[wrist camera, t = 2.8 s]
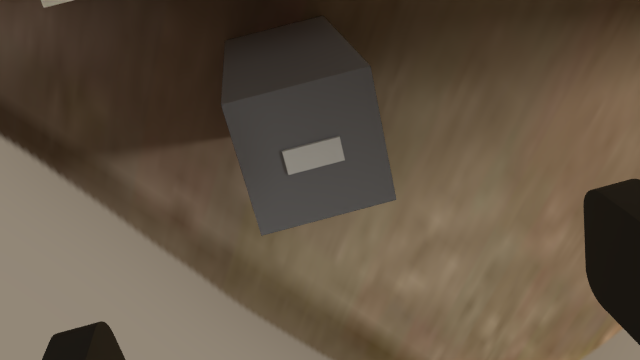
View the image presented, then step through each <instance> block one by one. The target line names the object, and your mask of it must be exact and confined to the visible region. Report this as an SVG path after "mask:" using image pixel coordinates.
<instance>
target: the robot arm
mask: <svg viewBox="0 0 640 360" xmlns="http://www.w3.org/2000/svg"><path fill="white" fill-rule="evenodd" d="M584 230H585V259H586V273H587V278H588V281H589V284H590V287H591V289H592V292H593V294H594V296H595V297H596V299H597V300H598V302H599V303H600V304H601V306H602V307H603V308H604V309H605V310H606V311H607V312H608V313H609V314H610V315H611V316H612V317H613V318H614V319H615V320H616V321H617V322H618V323H619V324H620V325H621V326H622V327H623V328H624V329H625V330H626V331H627V332H628V333H629V334H630V336H631V337H632V338H633V339H634V340H635V341H636V342H638V344H639V345H640V180H639V179H630V180H626V181H623V182H619V183H615V184H612V185H608V186H604V187H600V188H597V189H593V190H590V191H588V192H587V194H586V195H585V198H584ZM42 360H125V358H124V356H123V353H122V351H121V349H120V347H119V345H118V343H117V341H116V338H115V336H114V334H113V332H112V330H111V329H110V327H109V326H108V325H107V324H106V323H105V322H97V323H94V324H90V325H87V326H83V327H79V328H75V329H72V330H68V331H64V332H61V333H57V334H55V335H53V337H52V338H51V340H50V342H49V344H48V347H47V349H46V351H45V354H44V356H43V359H42Z"/></svg>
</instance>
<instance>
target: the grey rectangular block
mask: <svg viewBox="0 0 640 360" xmlns="http://www.w3.org/2000/svg"><path fill="white" fill-rule="evenodd" d="M221 106H222V110H223V113H224V116H225V119H226V123H227V126H228V129H229V132H230V135H231V139H232V142H233V145H234V148H235V152H236V155H237V158H238V161H239V165H240V168H241V171H242V174H243V177H244V181H245V184H246V187H247V190H248V194H249V197H250V200H251V203H252V206H253V210H254V213H255V216H256V219H257V223H258V226H259V229H260V232H261V236H262V235H266V234H270V233H273V232H277V231H281V230H285V229H288V228H292V227H296V226H300V225H303V224H307V223H311V222H315V221H318V220H322V219H326V218H330V217H333V216H337V215H341V214H345V213H348V212H352V211H356V210H359V209H363V208H367V207H371V206H374V205H378V204H382V203H386V202H389V201H393V200H396V195H395V190H394V185H393V180H392V175H391V169H390V164H389V159H388V154H387V149H386V144H385V138H384V133H383V128H382V123H381V118H380V112H379V107H378V102H377V97H376V92H375V87H374V81H373V76H372V71H371V66H370V65H369V64H368V63H367V62H366V61H365V60H364V59H363V57H362V56H361V55H360V54H359V53H358V52H357V51H356V50H355V49H354V48H353V47H352V46H351V45H350V44H349V43H348V42H347V41H346V39H345V38H344V37H343V36H342V35H341V34H340V33H339V32H338V31H337V30H336V29H335V28H334V27H333V26H332V25H331V24H330V22H329V21H328V20H327V19H326V18H325V17H324V16H320V17H316V18H312V19H308V20H304V21H300V22H296V23H292V24H288V25H284V26H281V27H277V28H273V29H269V30H265V31H261V32H257V33H253V34H249V35H245V36H242V37H238V38H234V39H230V40H226V41H225V49H224V65H223V81H222V96H221Z"/></svg>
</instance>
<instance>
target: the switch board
mask: <svg viewBox="0 0 640 360" xmlns="http://www.w3.org/2000/svg"><path fill="white" fill-rule="evenodd" d="M69 1H73V0H41V3H42V5H43V7H44V8H45V7H49V6H53V5H57V4H61V3H65V2H69Z"/></svg>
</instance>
